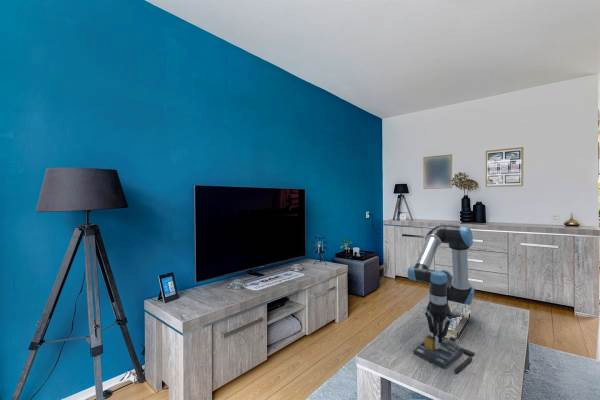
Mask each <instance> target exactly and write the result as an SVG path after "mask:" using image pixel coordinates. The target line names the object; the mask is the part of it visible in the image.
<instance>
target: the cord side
mask: <svg viewBox="0 0 600 400" xmlns="http://www.w3.org/2000/svg"><path fill="white" fill-rule="evenodd" d="M472 360H473V357H472V356H468V358H466V359H465V360H463V361H462V362H461V363H460V364H459V365H458V366H457V367H455V368H454V370H453V371H454V373H455V374H458V373H459V372H460V371H462V369H464V368H465V367H466V366H467V365H468V364H469V363H470V362H471V361H472Z"/></svg>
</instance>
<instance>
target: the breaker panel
mask: <svg viewBox="0 0 600 400" xmlns="http://www.w3.org/2000/svg"><path fill="white" fill-rule="evenodd" d="M459 340H460V339H457V338H456V337H453V336H449V337H448V338H447V339H446V340H445V341H447V342H445V341H442V343H440V348H439V349H436V350H434V351H432V350H430V349H427V348H425V340H423V341H422V342H420V343H418V344H417V346H416V347H415V348H413V355H416V356H418V357H419V358H422V359H424V360H426V361H428V362H430V363H432V364H434V365H436V366H438V367H440V368H442V369H444V370H445V369H446V368H448V367H449V366H450V365H452V363H454V362H456V361H457V360H458V359H459V358H460V357H461V356H463V352H462V351H461V348H459V343H460V341H459Z"/></svg>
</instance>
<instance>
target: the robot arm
mask: <svg viewBox="0 0 600 400" xmlns="http://www.w3.org/2000/svg"><path fill="white" fill-rule="evenodd" d="M473 238H474V237H473V233H472V230H471V228H470V227H468V226H463V225H450V224H449V225H447V224H441V225H436V226H435V227H433V228H431V229H430V230H428V232H427V233H426V236H425V237H424V241H425V242H424V244H423V246H422V249H421V252H420V254H419V255H418V258H417V260H416V262H415V265H413V266H412V265H411V266H409V267H408V269H407V278H408V279H409V280H412V281H415V282H421V283H426V284H429V301H428V303H427V306H426V312H425V313H424V315H425V316H426V320H427V321H426V322H427V324H428V325H427V326H428V330H429V332H430V333H431V334H433V335H432V336H433V340H434V341H435V348H436V349H439V348H440V343H442V339H443V338H445V337H447V335H448V331H449V329H450V328H449V327H450V325H451V323H452V322H453V320H452V319H450V317H448V316H449V315H450V314H451V315H452V311H451V307H450V305H449V302H453V303H458V304H463V305H465V306H466V305H467V306H470V305H472V304H473V301H474V300H473V299H474V295H475V287H473V286H472V283H470V281H469V266H468V265H469V264H468V262H469V261H468V250H469V249H471V247H472V246H473V245H474V244H473V242H474V240H473ZM441 244H448V248H449V249H451V260H452V261H451V262H452V272H450V271H449V270H446V269H445V270H435V269H430V267H431V265H432V263H433V260H434V257H435V255H436V253H437V249H438V247H440V245H441ZM444 321H445V324H444Z"/></svg>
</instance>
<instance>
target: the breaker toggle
mask: <svg viewBox="0 0 600 400" xmlns="http://www.w3.org/2000/svg"><path fill="white" fill-rule="evenodd" d="M424 341H425V348H427V349H430V350H432V351H434V350H436V348H435V341H434V340H433V335H431V334H428V335H426V336H424Z"/></svg>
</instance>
